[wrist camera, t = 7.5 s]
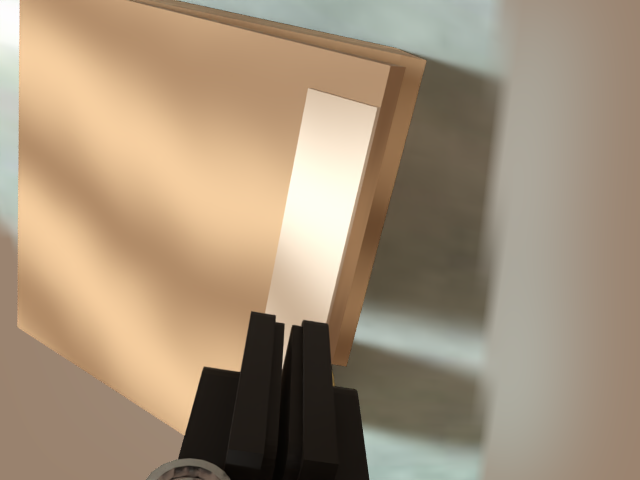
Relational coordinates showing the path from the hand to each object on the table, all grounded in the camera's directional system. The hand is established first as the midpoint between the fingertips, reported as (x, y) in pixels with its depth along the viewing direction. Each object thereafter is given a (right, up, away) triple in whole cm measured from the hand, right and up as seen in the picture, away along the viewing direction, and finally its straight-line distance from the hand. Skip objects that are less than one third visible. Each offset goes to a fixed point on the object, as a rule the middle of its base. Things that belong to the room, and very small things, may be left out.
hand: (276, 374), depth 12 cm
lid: (-4, +3, +8) cm, 9 cm away
